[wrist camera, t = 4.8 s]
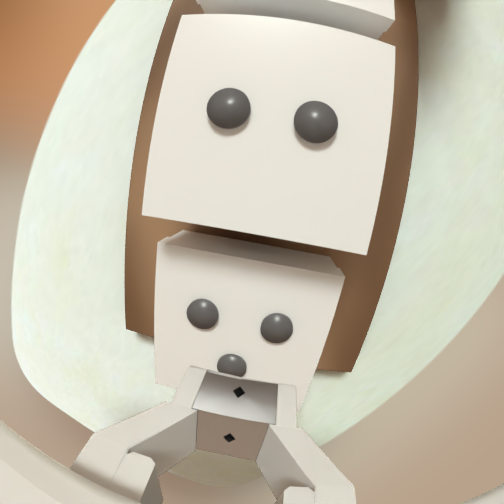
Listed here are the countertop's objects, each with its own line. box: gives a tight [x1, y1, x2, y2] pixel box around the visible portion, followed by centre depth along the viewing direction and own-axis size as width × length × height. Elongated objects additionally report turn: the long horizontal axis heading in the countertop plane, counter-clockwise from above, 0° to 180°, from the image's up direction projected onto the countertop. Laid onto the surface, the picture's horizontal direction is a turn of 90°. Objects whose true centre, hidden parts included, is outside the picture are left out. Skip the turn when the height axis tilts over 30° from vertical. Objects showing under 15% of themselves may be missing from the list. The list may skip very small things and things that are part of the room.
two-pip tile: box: [142, 14, 395, 255], centre depth 8 cm, size 7×7×3 cm
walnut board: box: [125, 0, 418, 372], centre depth 11 cm, size 13×22×3 cm, turn 170°
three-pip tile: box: [154, 230, 345, 412], centre depth 12 cm, size 7×7×3 cm
